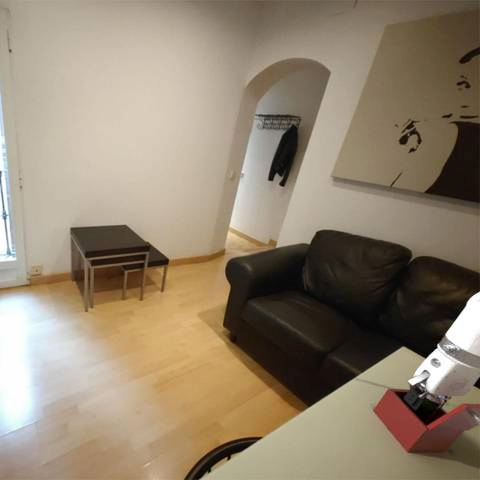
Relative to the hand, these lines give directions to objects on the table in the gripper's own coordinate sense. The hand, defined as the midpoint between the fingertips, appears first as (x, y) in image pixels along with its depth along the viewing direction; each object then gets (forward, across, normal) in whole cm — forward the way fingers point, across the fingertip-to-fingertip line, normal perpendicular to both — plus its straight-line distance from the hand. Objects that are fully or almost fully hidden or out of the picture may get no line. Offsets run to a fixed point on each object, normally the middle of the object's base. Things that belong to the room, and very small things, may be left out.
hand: (420, 404), depth 66 cm
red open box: (+9, 0, -1) cm, 9 cm away
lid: (-6, 0, -7) cm, 9 cm away
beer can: (+7, 0, 0) cm, 7 cm away
